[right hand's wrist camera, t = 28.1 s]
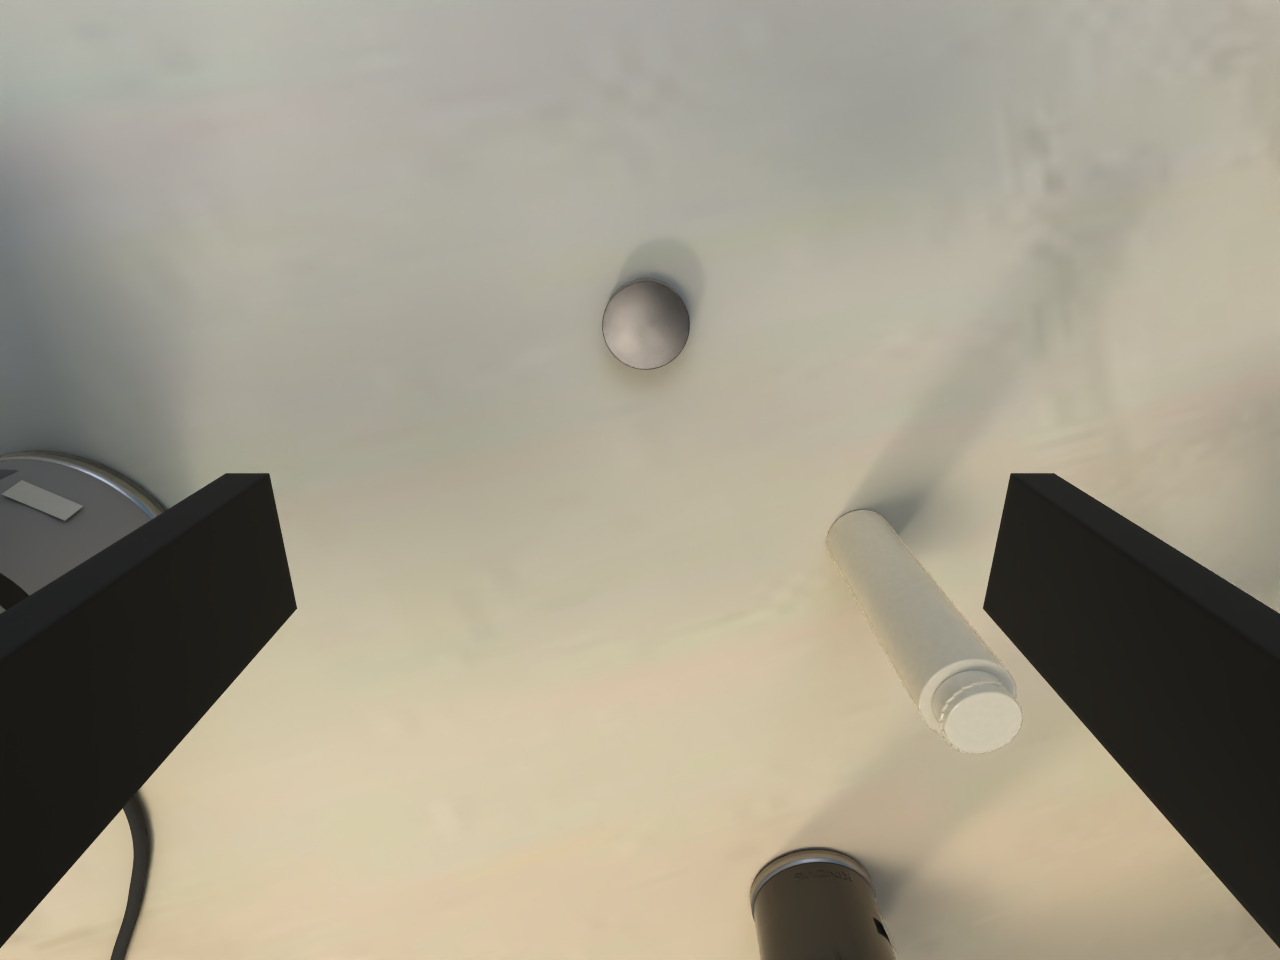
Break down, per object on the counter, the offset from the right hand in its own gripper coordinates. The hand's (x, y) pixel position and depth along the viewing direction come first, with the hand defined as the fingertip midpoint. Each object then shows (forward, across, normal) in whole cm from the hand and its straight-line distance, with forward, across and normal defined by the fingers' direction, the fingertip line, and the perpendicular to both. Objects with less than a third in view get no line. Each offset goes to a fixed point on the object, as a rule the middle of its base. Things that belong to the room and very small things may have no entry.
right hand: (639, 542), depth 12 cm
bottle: (+27, +14, -13) cm, 33 cm away
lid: (+26, 0, 0) cm, 26 cm away
